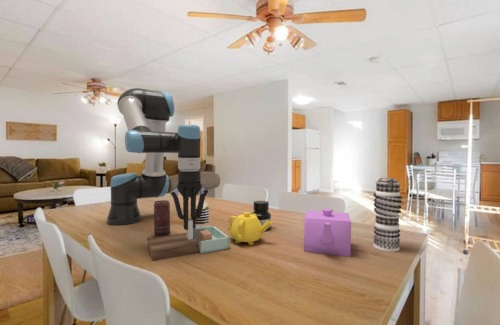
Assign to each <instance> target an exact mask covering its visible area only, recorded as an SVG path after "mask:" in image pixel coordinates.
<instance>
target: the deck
mask: <svg viewBox="0 0 500 325" xmlns="http://www.w3.org/2000/svg"><path fill="white" fill-rule="evenodd" d="M147 248H148V251H149V254H150V256H151V259H152V261H158V260H164V259H169V258H176V257H181V256H186V255H187V256H188V255H191V254H192V255H193V254H198V253H200V252H199V243H198V242H197V241H196V240H195V239H194V238H193V239H190V240H188V238H187V232H182V233H175V234H169V235H167V236H160V237H156V236H153V237H152V236H151V237H147Z"/></svg>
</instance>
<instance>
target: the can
mask: <svg viewBox="0 0 500 325" xmlns="http://www.w3.org/2000/svg"><path fill="white" fill-rule="evenodd" d="M170 205H171V203H170V201H169V200H166V199H165V200H157V201H154V203H153V219H154V220H153V229H154V230H153V232H154V233H153V234H154V237H160V236H167V235H171V208H170V207H171V206H170Z"/></svg>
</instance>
